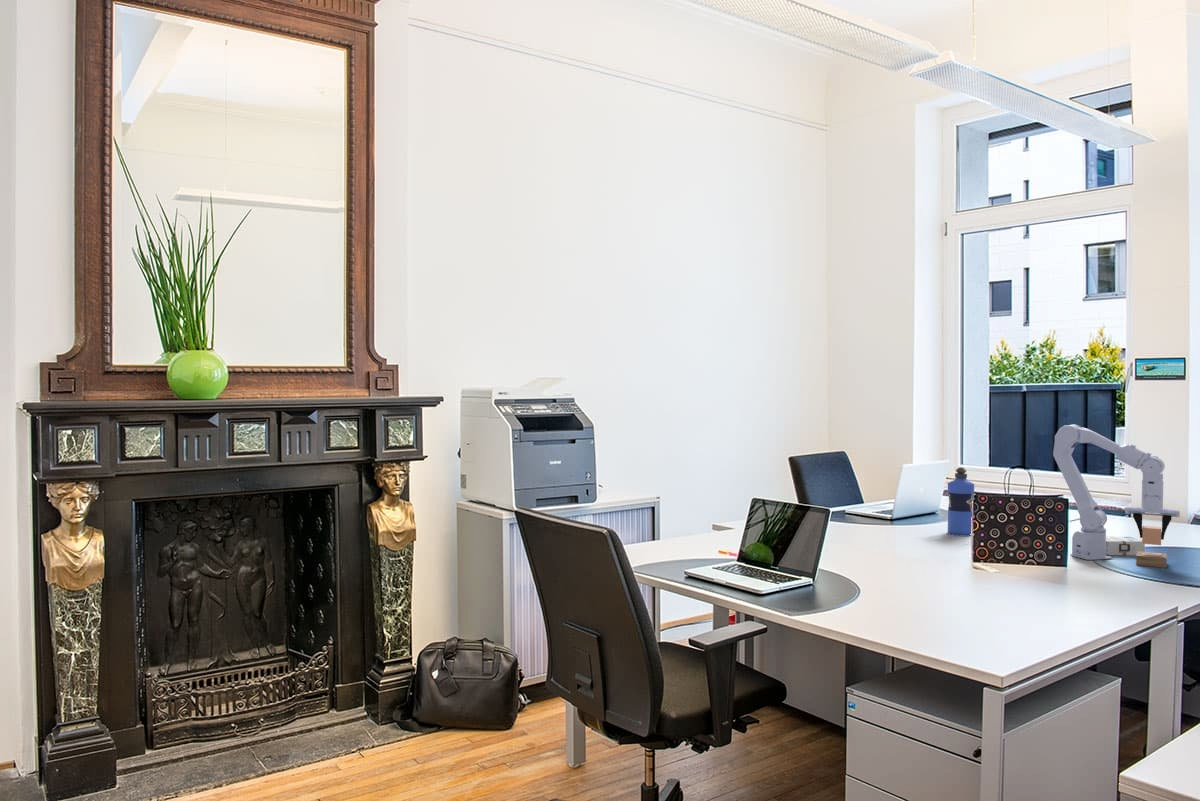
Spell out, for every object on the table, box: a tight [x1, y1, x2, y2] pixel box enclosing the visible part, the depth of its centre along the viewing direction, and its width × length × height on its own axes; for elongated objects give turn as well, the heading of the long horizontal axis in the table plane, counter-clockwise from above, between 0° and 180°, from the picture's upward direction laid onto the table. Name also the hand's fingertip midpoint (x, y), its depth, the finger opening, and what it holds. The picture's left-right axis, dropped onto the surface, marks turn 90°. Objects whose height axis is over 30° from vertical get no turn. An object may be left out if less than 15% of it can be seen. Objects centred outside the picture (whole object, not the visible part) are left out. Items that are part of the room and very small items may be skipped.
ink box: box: [1106, 536, 1146, 556], centre depth 296 cm, size 9×5×15 cm
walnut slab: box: [1135, 551, 1168, 569], centre depth 278 cm, size 8×8×3 cm
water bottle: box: [947, 467, 975, 537], centre depth 333 cm, size 9×9×25 cm
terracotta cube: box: [1141, 525, 1162, 546], centre depth 278 cm, size 5×5×5 cm
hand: (1151, 538), depth 278 cm, fingers closed on terracotta cube, 5 cm apart
